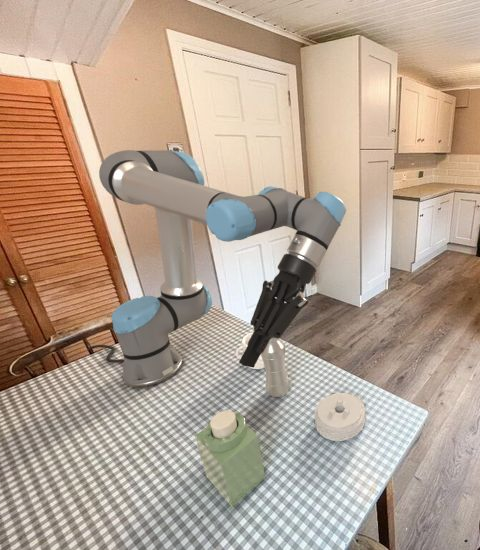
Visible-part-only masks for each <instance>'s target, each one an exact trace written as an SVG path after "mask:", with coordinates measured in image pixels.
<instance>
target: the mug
mask: <svg viewBox="0 0 480 550" xmlns="http://www.w3.org/2000/svg"><path fill="white" fill-rule="evenodd" d="M253 332H254V331H251V332H249V333H246V334H245V335H244V336H243V337H242V339H241V345H240V346H239V347H237V349H235V354H234V355H235V357H236V358H237V359H238V360H240V359H241V357H242V356H240V354H239V352H240V350H242V353H243V354H244V352H245V350H246V348H247V346H248V342H249V340H250V338H251V336H252V334H253ZM243 354H242V355H243ZM248 368H249V369H252V370H263V369H265V367H264V362H263V359H262V357H261V354H260V356H259V358H258V360H257V362H256V364H255V366H254V368H253V367H248Z"/></svg>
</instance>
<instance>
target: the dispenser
mask: <svg viewBox="0 0 480 550" xmlns="http://www.w3.org/2000/svg"><path fill="white" fill-rule="evenodd" d="M234 413H235V416H236V421H237V429H236V431H235V432H234V433H233V434H232V435H230V436H229V437H226V438H223V439H217V438H215V437H214V436H213V434H212V429H211V425H210V422H209V423H208V424H207V425H206V427H205V428H204V429H202V430H200V431H199V432H197V433H195V435H194V437H195V440H196V444H197V447H198V451H199V455H200V460H201V463H202V466H203V470H204V474H205V477H206V478H207V479H208V480H209V482H210V483H211V484H212V486H213V487H214V488H215V489H216V490H217V491H218V493H219V494H220V495H221V496H222V497H223V499H224V500H225V501H226V502H227V504H228V505H229V506H230V507H231V508H234V507H235V506H236V505H237V504H239V502H240V501H242V500H243V499H244V497H246V496H247V495H248V494H249V493H250V492H251V491H252V490H253V489H254V488H255V487H257V486H258V485H259V484H260V483H261V482H262V481H263V480H264V479H265V478H266V473H265V468H264V463H263V461H264V460H263V456H262V449H261V445H260V439H259V438H260V437H259V435H258V434H257V433H255V431H254V430H252V429H251V428H250V427H249V426H248V425H247V424H246V423H247V422H246V418H245V417H244V416H243V415H241V413H237V412H234Z"/></svg>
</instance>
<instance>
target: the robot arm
mask: <svg viewBox="0 0 480 550" xmlns="http://www.w3.org/2000/svg"><path fill="white" fill-rule="evenodd" d="M98 175H99V181H100V183H101V185H102V187H103V188H104V189H105V191H106V193H108V194H110V195H111V196H112V197H113V198H115V199H118V200H120V201H122V202H124V203H127V204H130V205H135V206H141V205H147V206H150V207H153V208H154V210H155V217H156V223H157V231H158V238H159V245H160V253H161V254H160V255H161V261H162V268H163V274H164V282H163V283H162V284H161V285H160V289H159V290H160V296H157V297H156V296H153V295H144V296H140V297H135V298H132V299H130V300H127V301H125V302H123V303H122V304H120V305H118V306H117V307H116V308H115V309H114V310H113V312H112V314H111V322H112V329H113V332H114V333H115V336H116V338H117V341H118V343H119V347H120V350H121V352H122V355H123V358H121V359H111V356H112V355H113V354H114V353H115V351H116V348H115V347H114V346H112V345H109V344H95V345H92V346H89V347H88V348H87V350H86V351H87V352H90V351H91V350H93V349H98V348H105V349H109V350H110V352H109V353H108V354H107V355H106V358H105V360H106V361H107V362H108V363H123V367H122V380H123V383H124V385H126V387H129V388H133V389H143V388H149V387H153V386H156V385H158V384H161V383H163V382H166V381H167V380H169V379H171V378H172V377H174V376H175V375H176V374H178V373H179V371H180V370H181V369H182V368H183V358H182V356H181V354H180V353H179V352H178V350H177V349H176V348H175V347H174V346H173V345H172V343H171V341H170V337H169V335H170V334H171V333H174V332H175V331H177V330H179V329H182V328H183V327H185V326H187V325H189V324H191V323H193V322H195V321H199V320H200V319H202V318H203V317H204V316H206V315H207V314H208V313H209V312H210V311H211V309H212V305H213V299H212V294H211V293H210V290H209V289H208V287H207V286H206V285H205V284H203V282H202V281H201V280H200V279H198V277H197V266H196V265H197V264H196V256H195V253H196V252H195V243H194V231H193V222H197V223H198V224H203V225H205V226H207V228H208V230H209V231H210V233H211V234H212V235H214V236H215V238H216V239H217V240H219V241H222V242H224V243H225V242H226V243H227V242H228V243H230V242H235V241H242V240H245V239H247V238H250V237H253V236H256V235H259V234H263V233H266V232H269V231H272V230H276V229H279V228H282V227H287V228H290V229H292V230H295V231H296V232H295V235H294V236H293V238H292V240H291V242H290V244H289V245H288V247H287V249H286V252H287V253H285V254H283V256H282V258H281V259H280V261H279V263H278V265H277V270H278V271H279V272H278V273H277V275H275V276H274V278H273V279H272V280H271V281H268V280H263V282H262V288H261V289H262V290H261V293H260V295H259V298H258V301H257V304H256V307H255V309H254V311H253V314H252V317H251V320H250V325H251V326H252V327H253V331H252V332H253V334H252V336H251V338H250V340H249V342H248V346H247V348H246V350H245V352H244V354H242V355H241V356H240V357H241V359H239V361H238V363H239V364H240V365H242V366H243V367H248V368H249V367H253V368H254V366H255V364H256V362H257V360H258V358H259V356H260V354H261V353H263V352H264V350H265V348H266V346H267V344H268V342H269V341H270V339H271V338H277V339H280V338H281V337H282V336H283V334H284V333H285V332H286V331H287V329H288V328H289V326H290V325H291V324H292V322H293V321H294V320H295V318H296V317H297V316H298V314H299V313H300V312H301V310H302V309H303V308H305V307H306V306H307V305H309V299H308V298H306V297H305V295H304V293H305V291H306V285H309V284H311V282H312V281H313V278H314V276H315V274H316V272H317V268H318V267H320V265H321V263H322V261H323V259H324V257H325V256H326V253H327V251H328V248H329V246H330V245H331V243H332V241H333V239H334V238H335V235H336V233H337V232H338V230H339V228H340V227H341V226H342V222H343V220H344V217H345V215H346V213H347V206H346V205H345V202H344V201H343V200H341V199H340V198H339V197H338V196H337V195H335V194H333V193H331V192H327V191H319V192H317V193H316V195H315V196H314V197H313V199H312V198H310V197H309V198H308V197H305V196H302V195H299V194H296V193H293V192H291V191H288V190H286V189H284V188H282V187H276V186H272V185H271V186H265V187H264V188H263V189H262V190H260V191H259V192H258V194H254V195H253V194H252V195H246V196H242V195H241V196H240V195H237V194H233V193H230V192H226V191H224V190H220V189H217V188H213V187H210V186H207V185H205V178H204V177H205V176H204V173H203V170H202V169H201V167H200V165H199V164H198V163H197V161H196V159H195V158H194V157H192V156H191V155H190V154H188V153H186V152H183V151H178V150H177V151H176V150H169V149H167V150H163V149H162V150H134V149H133V150H132V149H127V150H126V149H125V150H120V151H116V152H114V153H111V154H109V155H108V156H107V157H105V158H104V160H103V161H102V163H101V164H100V166H99V171H98Z"/></svg>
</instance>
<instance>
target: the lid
mask: <svg viewBox="0 0 480 550" xmlns="http://www.w3.org/2000/svg"><path fill="white" fill-rule="evenodd" d="M313 415H314V426H315V429H316V431H317V433H318V434H319V435H320V436H321V437H323V438H325V439H327V440H330V441H334V442H343V441H348V440H351V439H353V438H355V437H356V436H357V435H359V434H360V433H361V431H362V430H363V428H364V426H365V424H366V407H365V405H364V403H363V401H362V400H361V399H360V398H359V397H357V396H356V395H354V394H350V393H346V392H337V393H336V392H335V393H331V394H329V395H327V396H326V397H325V396H324V397H323V399H321V400H320V401H319V402H318V403H317V404H316V407H315V409H314V414H313Z"/></svg>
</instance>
